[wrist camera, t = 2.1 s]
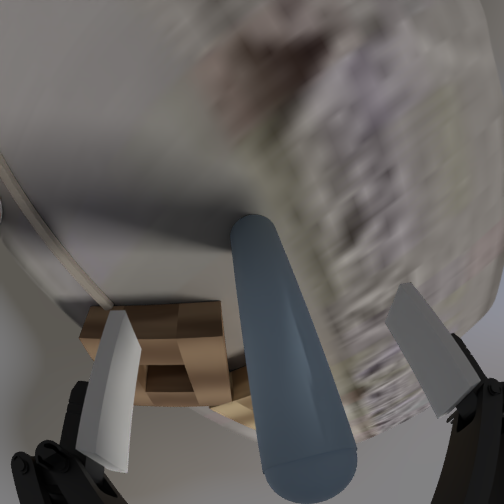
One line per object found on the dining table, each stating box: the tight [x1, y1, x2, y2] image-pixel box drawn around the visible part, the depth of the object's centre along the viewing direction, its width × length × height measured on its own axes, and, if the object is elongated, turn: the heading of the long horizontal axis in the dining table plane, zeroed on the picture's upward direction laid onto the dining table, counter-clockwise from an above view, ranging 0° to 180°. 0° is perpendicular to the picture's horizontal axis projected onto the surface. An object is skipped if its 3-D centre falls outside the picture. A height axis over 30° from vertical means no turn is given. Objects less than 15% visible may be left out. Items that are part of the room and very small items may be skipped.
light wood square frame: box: [209, 366, 256, 430], centre depth 27 cm, size 10×10×4 cm
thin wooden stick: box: [0, 153, 114, 310], centre depth 15 cm, size 16×1×1 cm, turn 25°
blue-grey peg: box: [230, 215, 357, 504], centre depth 12 cm, size 3×3×15 cm
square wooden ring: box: [79, 301, 232, 407], centre depth 22 cm, size 11×11×4 cm
